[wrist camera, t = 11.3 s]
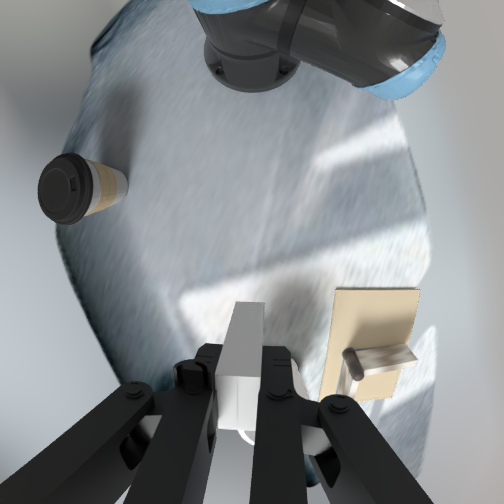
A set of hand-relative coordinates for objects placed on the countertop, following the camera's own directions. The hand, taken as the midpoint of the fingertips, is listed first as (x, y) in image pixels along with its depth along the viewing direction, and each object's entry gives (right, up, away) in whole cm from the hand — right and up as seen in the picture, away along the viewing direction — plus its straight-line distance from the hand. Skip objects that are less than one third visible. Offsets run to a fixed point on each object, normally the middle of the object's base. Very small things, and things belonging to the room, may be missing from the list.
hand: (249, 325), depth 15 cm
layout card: (+21, -14, +32) cm, 41 cm away
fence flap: (+22, -14, +31) cm, 40 cm away
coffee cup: (-23, +15, +29) cm, 40 cm away
